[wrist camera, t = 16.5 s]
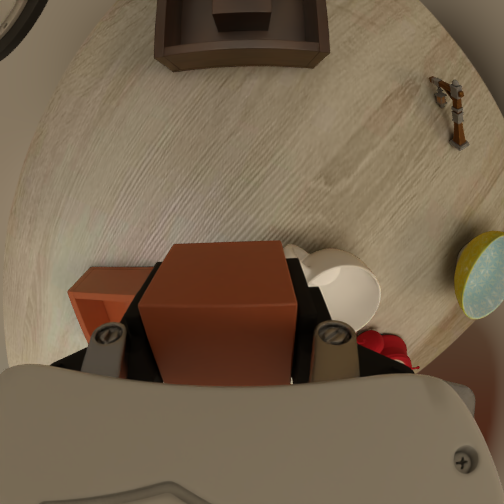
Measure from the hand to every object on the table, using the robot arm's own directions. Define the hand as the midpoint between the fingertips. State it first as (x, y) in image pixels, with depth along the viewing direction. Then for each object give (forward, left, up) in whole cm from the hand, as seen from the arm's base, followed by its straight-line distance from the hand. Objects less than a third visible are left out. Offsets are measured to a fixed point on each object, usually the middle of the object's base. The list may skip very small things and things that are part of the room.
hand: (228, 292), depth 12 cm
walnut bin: (+1, +19, -15) cm, 24 cm away
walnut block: (+1, +19, -15) cm, 24 cm away
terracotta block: (0, 0, 0) cm, 0 cm away
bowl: (+30, -6, -15) cm, 34 cm away
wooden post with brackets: (+22, +11, -15) cm, 29 cm away
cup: (+8, -6, -15) cm, 18 cm away
